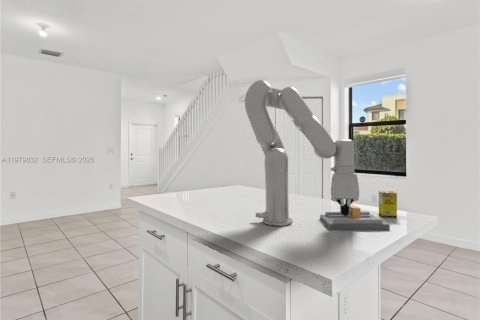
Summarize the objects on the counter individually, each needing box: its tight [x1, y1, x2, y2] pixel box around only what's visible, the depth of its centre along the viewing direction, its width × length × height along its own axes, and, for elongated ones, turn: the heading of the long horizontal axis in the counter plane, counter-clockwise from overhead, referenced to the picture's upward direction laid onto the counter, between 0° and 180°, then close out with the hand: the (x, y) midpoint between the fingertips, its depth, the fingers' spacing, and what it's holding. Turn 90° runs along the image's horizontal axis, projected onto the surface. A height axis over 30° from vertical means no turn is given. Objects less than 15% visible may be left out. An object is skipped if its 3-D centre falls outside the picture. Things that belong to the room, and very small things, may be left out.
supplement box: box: [378, 190, 398, 219], centre depth 123 cm, size 6×6×11 cm
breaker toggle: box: [349, 205, 361, 219], centre depth 111 cm, size 3×5×5 cm, turn 176°
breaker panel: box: [319, 213, 391, 231], centre depth 111 cm, size 22×16×3 cm
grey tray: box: [324, 210, 384, 224], centre depth 111 cm, size 18×14×2 cm
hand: (344, 215), depth 111 cm, fingers closed
